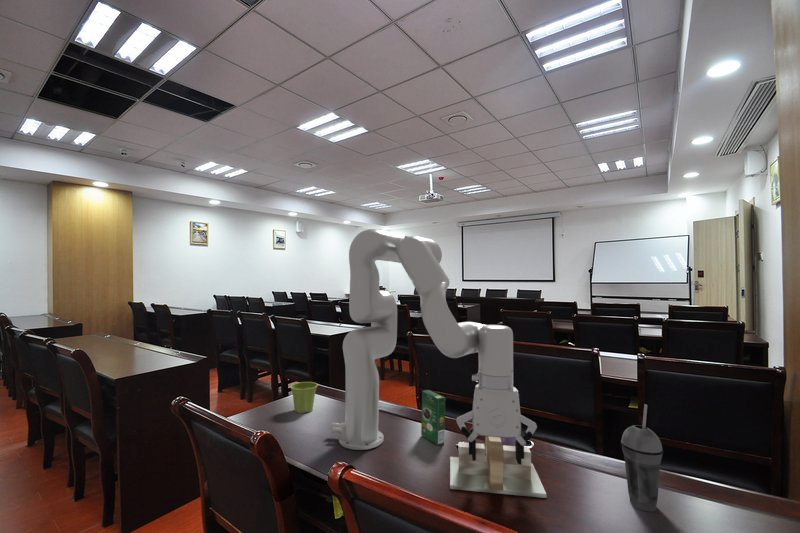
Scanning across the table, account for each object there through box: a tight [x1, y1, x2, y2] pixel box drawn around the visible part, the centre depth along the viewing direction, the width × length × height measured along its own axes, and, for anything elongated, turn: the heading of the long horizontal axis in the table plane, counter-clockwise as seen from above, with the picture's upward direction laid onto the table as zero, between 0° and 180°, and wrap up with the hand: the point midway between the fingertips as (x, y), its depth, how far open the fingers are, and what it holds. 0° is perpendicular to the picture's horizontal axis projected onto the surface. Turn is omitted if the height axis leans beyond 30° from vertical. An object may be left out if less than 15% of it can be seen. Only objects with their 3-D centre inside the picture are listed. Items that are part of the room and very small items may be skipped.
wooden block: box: [484, 436, 503, 491], centre depth 82 cm, size 12×3×9 cm, turn 172°
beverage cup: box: [620, 403, 664, 512], centre depth 73 cm, size 7×7×20 cm
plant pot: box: [289, 381, 319, 414], centre depth 124 cm, size 9×9×9 cm
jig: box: [449, 441, 548, 499], centre depth 82 cm, size 20×13×7 cm, turn 82°
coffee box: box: [420, 389, 446, 446], centre depth 102 cm, size 8×3×13 cm, turn 32°
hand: (495, 459), depth 78 cm, fingers open, 9 cm apart
